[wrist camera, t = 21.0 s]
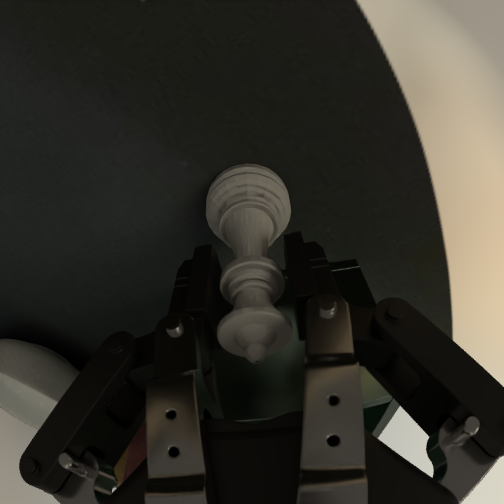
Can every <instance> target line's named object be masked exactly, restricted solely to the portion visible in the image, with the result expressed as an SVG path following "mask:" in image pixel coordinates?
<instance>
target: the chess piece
mask: <svg viewBox="0 0 504 504" xmlns="http://www.w3.org/2000/svg"><path fill="white" fill-rule="evenodd" d="M290 214H291V208H290V201H289V195H288V191H287V189H286V187H285V185H284V182H283V181H282V180H281V179H280V177H279V176H278V175H277V174H276V173H275V172H273V171H271V170H270V169H268V168H267V167H264V166H261V165H258V164H240V165H235V166H233V167H230V168H228V169H226V170H224V171H223V172H222V173H221V174H219V175H218V176H217V177H216V178H215V180H214V181H213V183H212V184H211V186H210V189H209V192H208V195H207V205H206V218H207V221H208V224H209V226H210V228H211V230H212V231H213V233H214V234H215V235H216V236H217V237H218V238H220V239H221V240H222V241H224V242H225V243H226V244H227V245H228V246H229V247H230V248H232V249H233V253H234V260H233V261H232V262H230V263H229V264H228V265H227V266H226V267H225V268H224V269H223V271H222V274H221V276H220V291H221V293H222V295H223V297H224V298H225V299H226V301H228V302H229V303H230V304H232V305H233V307H234V308H233V310H232V311H231V312H230V313H229V314H227V315H226V316H225V317H224V318H223V319H222V320H221V321H220V323H219V325H218V327H217V338H218V340H219V343H220V345H221V346H222V347H223V348H224V349H225V350H227V351H228V352H230V353H232V354H235V355H238V356H242V357H246V358H247V359H248V360H249V361H250V362H252V363H261V362H262V361H264V359H265V358H266V357H267V356H268V355H272V354H275V353H277V352H279V351H281V350H282V349H283V348H285V347H286V346H287V345H288V344H289V342H290V341H291V338H292V335H293V328H292V323H291V321H290V319H289V318H288V317H287V316H286V315H285V314H283V313H282V312H280V311H278V310H277V309H276V308H275V307H274V306H273V304H274V302H276V301H277V300H278V299H279V298H280V297H281V295H282V293H283V292H284V288H285V280H284V274H283V272H282V270H281V268H280V267H279V266H278V265H277V264H276V263H275V262H274V261H272V260H270V259H269V258H267V254H268V247H269V246H270V245H271V244H272V243H273V242H274V241H275V239H276V238H278V237H279V236H280V234H281V233H282V232H283V231H284V230H285V228H286V226H287V224H288V222H289V219H290Z"/></svg>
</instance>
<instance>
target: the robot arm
mask: <svg viewBox="0 0 504 504" xmlns="http://www.w3.org/2000/svg"><path fill="white" fill-rule="evenodd" d="M282 237H283V246H284V254H285V263H286V271H287V277H288V283H289V288H290V294H291V299H292V304H293V310H294V315H295V321H296V327H297V332H298V338H299V341H302V340H305V370H304V402H303V410H302V411H295V412H289V413H286V414H283V415H281V416H278V417H275V418H272V419H269V420H266V421H263V422H260V423H257V424H249V423H243V422H237V421H231V420H226V419H225V418H224V415H223V412H222V409H221V405H220V399H219V392H218V386H217V379H216V372H215V366H214V363H213V351H218V350H222V346H221V345H220V343H219V340H218V338H217V327H218V325H219V323H220V321H221V320H222V319H223V300H224V297H223V295H222V293H221V291H220V276H221V274H222V270H221V266H220V263H219V259H218V256H217V252H216V249H215V246H214V244H208V245H202V246H196V247H195V250H194V255H193V259H191V260H185V261H184V262H183V264H182V265H181V266H180V268H179V269H178V272H177V277H176V281H175V288H174V290H173V295H172V299H171V304H170V309H169V313H168V315H166V316H165V317H163V318H162V319H161V320H160V321H159V322H158V324H157V326H156V329H155V332H153V333H150V334H148V335H145V336H142V337H139V338H136V339H134V337H133V336H132V335H131V334H130V333H128V332H124V331H122V332H116V333H114V334H112V335H110V336H109V337H108V338H106V340H105V341H104V342H103V343H102V345H101V346H100V347H99V348H98V350H97V351H96V352H95V354H94V355H93V356H92V357H91V359H90V360H89V361H88V363H87V364H86V365H85V367H84V368H83V369H82V371H81V372H80V373H79V374H78V376H77V377H76V379H75V380H74V381H73V383H72V384H71V385H70V387H69V388H68V389H67V391H66V392H65V393H64V395H63V396H62V398H61V399H60V400H59V402H58V403H57V405H56V406H55V407H54V409H53V410H52V412H51V413H50V414H49V416H48V417H47V419H46V420H45V422H44V423H43V424H42V426H41V427H40V429H39V430H38V432H37V433H36V435H35V436H34V438H33V439H32V441H31V442H30V444H29V445H28V447H27V448H26V450H25V452H24V453H23V454H22V456H21V459H20V463H19V469H20V473H21V476H22V478H23V480H24V481H25V482H26V483H28V484H29V485H32V486H34V487H36V488H39V489H41V490H43V491H44V492H47V493H49V494H51V495H53V496H54V497H55V499H57V500H58V502H60V503H61V504H460V503H461V502H462V501H463V500H464V499H465V498H466V497H467V496H468V495H469V494H470V493H471V491H473V489H474V488H475V487H476V486H477V485H478V484H479V482H480V481H481V480H482V479H483V478H484V477H485V475H486V474H487V473H488V472H489V471H490V469H491V468H492V467H493V466H494V464H495V463H496V462H497V460H498V459H499V458H500V457H502V456H504V387H503V386H502V385H501V384H500V383H499V382H498V381H497V380H496V379H495V378H493V377H492V376H491V375H490V374H489V373H488V372H487V371H486V370H485V369H484V368H483V367H482V366H481V365H479V364H478V363H477V362H476V361H475V360H474V359H473V358H472V357H471V356H469V355H468V354H467V353H466V352H465V351H464V350H463V349H462V348H460V346H458V345H457V344H456V343H455V342H454V341H453V340H452V339H450V338H449V337H448V336H447V335H446V334H445V333H443V332H442V331H441V330H440V329H439V328H438V327H436V326H435V325H434V324H433V323H432V322H431V321H429V320H428V319H427V318H426V317H425V316H423V315H422V314H421V313H420V312H419V311H417V310H416V309H415V308H414V307H413V306H411V305H410V304H409V303H408V302H406V301H404V300H402V299H399V298H386V299H383V300H381V301H380V302H379V303H378V304H377V305H376V306H375V308H366V307H357V306H354V305H351V304H349V303H347V301H346V300H345V299H344V298H343V297H342V296H340V294H339V291H338V289H337V286H336V283H335V280H334V277H333V274H332V272H331V269H330V266H329V263H328V261H327V259H326V255H325V252H324V250H323V248H322V247H321V246H320V245H318V244H317V243H316V242H308V243H304V241H303V238H302V235H301V232H300V231H297V232H290V233H283V234H282ZM359 366H361V367H365V368H366V370H367V371H368V372H369V373H370V374H371V375H372V376H373V377H374V378H375V379H376V380H377V381H378V382H379V383H380V385H381V386H382V387H383V388H384V389H385V390H386V391H387V392H388V393H389V394H390V395H391V396H392V397H393V398H394V399H395V400H396V402H397V403H398V404H399V405H400V406H401V407H402V408H403V409H404V410H405V411H406V412H407V413H408V414H409V415H410V416H411V418H413V420H414V421H415V422H416V423H417V424H418V425H419V426H420V427H421V428H422V429H423V430H424V431H425V432H426V434H427V435H428V436H429V439H428V442H427V446H426V451H427V455H428V457H429V459H430V460H431V462H432V464H433V468H434V474H433V478H432V477H430V476H429V475H427V474H426V473H424V472H423V471H421V470H420V469H419V468H417V467H416V466H414V465H413V464H411V463H410V462H409V461H407V460H406V459H404V458H403V457H402V456H400V455H399V454H398V453H396V452H395V451H393V450H392V449H391V448H389V447H388V446H387V445H385V444H384V443H383V442H381V441H380V440H379V439H377V438H376V437H375V436H373V435H372V434H371V433H370V432H368V431H367V430H366V429H364V418H363V402H362V389H361V378H360V368H359ZM123 382H124V383H125V384H124V385H123V387H122V388H121V390H120V391H119V392H118V394H117V395H116V397H115V398H114V400H113V401H112V403H111V404H110V406H109V407H108V408H107V405H108V404H109V402H110V401H111V399H112V398H113V396H114V395H115V393H116V392H117V390H118V389H119V388H120V386H121V385H122V383H123ZM106 408H107V410H106ZM145 419H146V443H147V457H146V458H145V459H144V460H143V461H142V462H141V464H140V465H139V466H138V467H137V468H136V469H135V470H134V471H133V472H132V473H131V474H130V475H129V476H128V477H127V478H126V479H125V480H124V481H123V483H122V484H121V485H120V486H119V487H118V488H117V489H116V490H115V491H114V492H113V493H112V488H114V487H116V486H117V484H118V480H117V478H116V476H115V471H114V468H115V466H116V464H117V463H118V461H119V460H120V458H121V456H122V455H123V453H124V452H125V450H126V449H127V447H128V445H129V444H130V442H131V441H132V439H133V438H134V436H135V434H136V433H137V431H138V430H139V428H140V427H141V425H142V423H143V422H144V420H145Z"/></svg>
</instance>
